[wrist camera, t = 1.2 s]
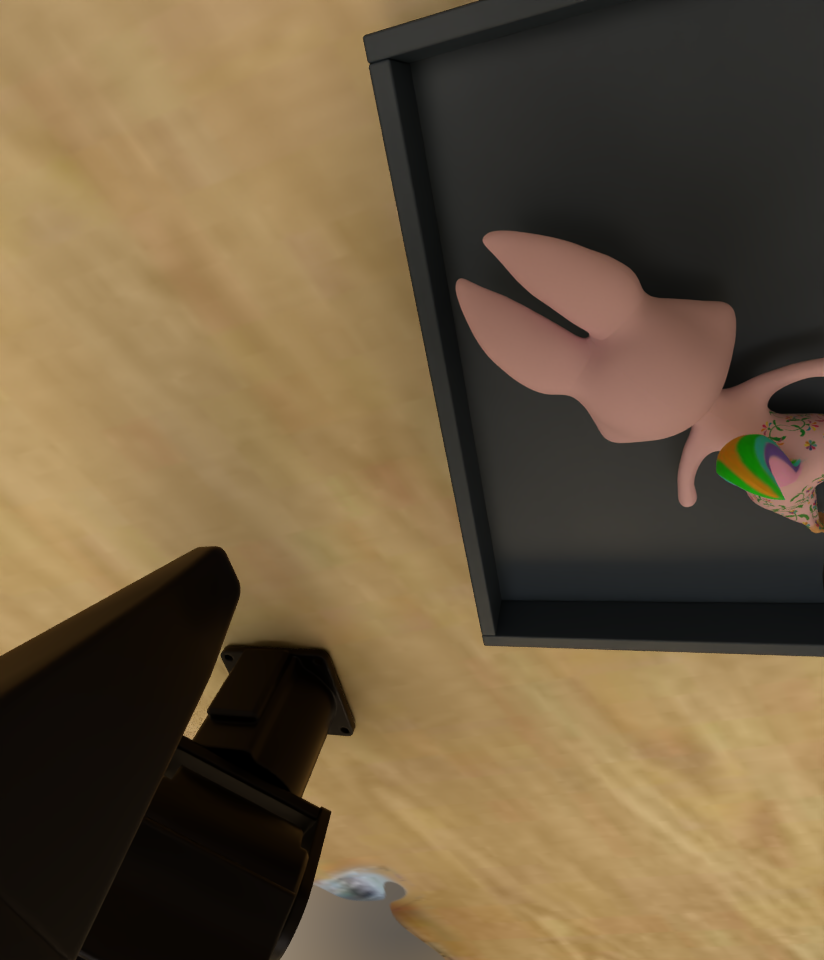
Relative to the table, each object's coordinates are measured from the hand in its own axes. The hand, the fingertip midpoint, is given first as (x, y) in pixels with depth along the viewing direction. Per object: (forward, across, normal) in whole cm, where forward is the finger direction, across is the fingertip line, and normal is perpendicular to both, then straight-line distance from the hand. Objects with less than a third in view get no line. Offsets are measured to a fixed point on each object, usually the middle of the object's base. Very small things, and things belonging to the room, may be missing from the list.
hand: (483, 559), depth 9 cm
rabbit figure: (+13, -4, +2) cm, 14 cm away
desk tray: (+13, -4, +2) cm, 14 cm away
